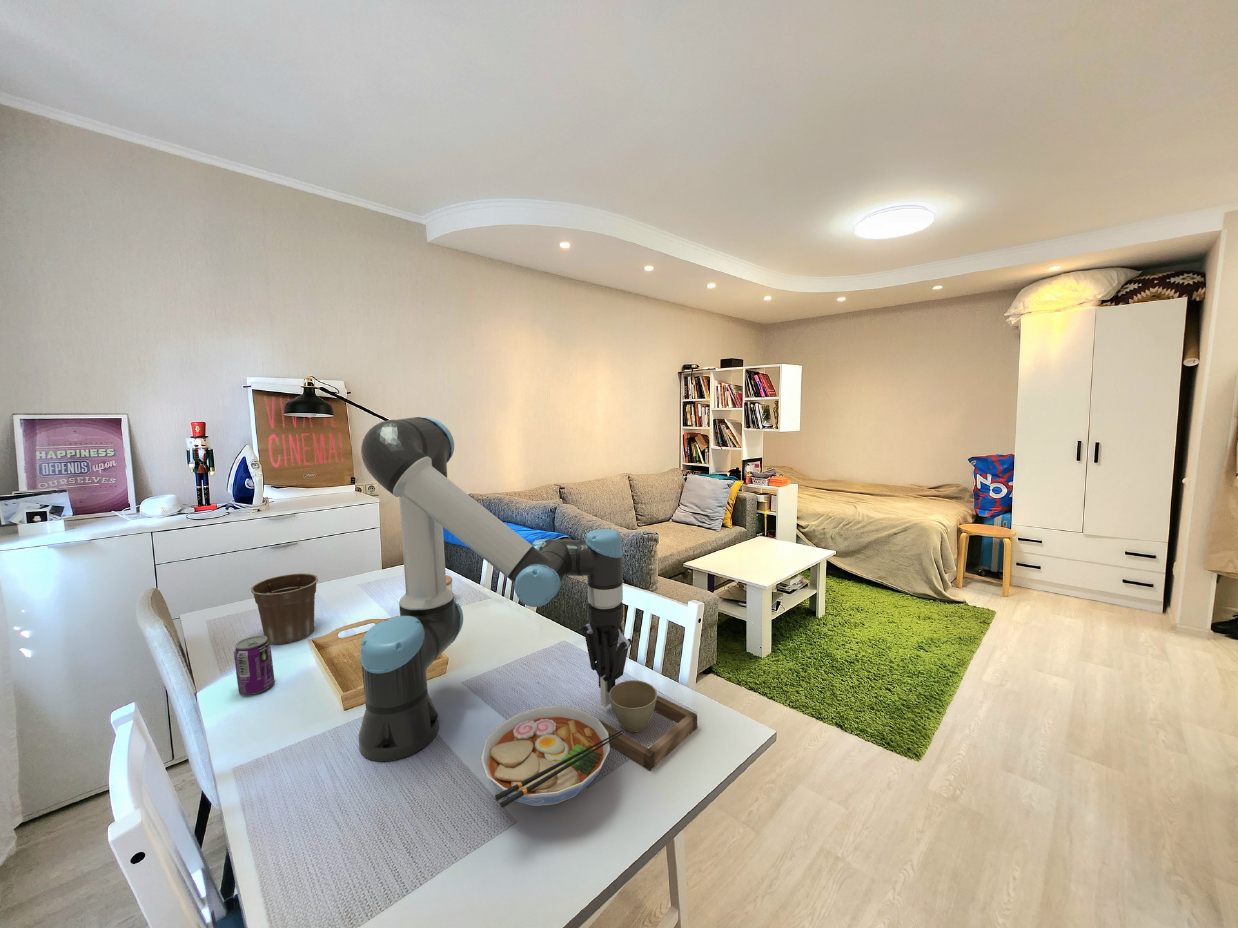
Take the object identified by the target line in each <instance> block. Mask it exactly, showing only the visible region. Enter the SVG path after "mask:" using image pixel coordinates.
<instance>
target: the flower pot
mask: <svg viewBox="0 0 1238 928" xmlns="http://www.w3.org/2000/svg"><path fill="white" fill-rule="evenodd" d="M657 695H658V692H657V690H656V688H655V687H654V686H653V685H652V684H651V683H648V682H646V681H643V680H635V679H634V680H633V679H630V680H629V679H628V680H624V681H621V682H618V683H617V684H616V683H615V686H614V687H613V688H612V689H611V690H610V693H609V697H610V702H611V704H610V706H611V709H612V712H613V714H614V717H615V718H616V720H617V722H618V723H619V725H620V726H621V727H622V729H624V731H627V732H629V733H638V732H641V731H643V730H644V729H645V728H646V727H647V725H648V724H649V722H650V720H651V718H652V716H653V714H654V712H655V711H654V708H655V705H656V700H657Z"/></svg>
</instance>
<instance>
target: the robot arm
mask: <svg viewBox="0 0 1238 928" xmlns="http://www.w3.org/2000/svg"><path fill="white" fill-rule="evenodd" d="M360 447H361V448H360V449H361V450H360V454H361V460H362V461H363V464H364V466H365V469H366V470H367V472H368V473H369V474H370V475H371V476H372V478H373V479H374V480H375V481H376V482H377V483H378V484H379V485H381V486H382V487H383V489H385V490H386V491H387V492H389V493H390V494H391V495H392V496H393V497H395V498H399V511H400V525H401V526H400V527H401V540H402V541H401V542H402V556H403V570H404V573H403V574H404V583H405V587H404V588H405V593H404V594H403V596H401V598H400V599H399V602H398V605H399V616H398V615H397V616H393V617H389V618H387V620H382V621H379V622H378V623H376V624H374V625H373V626H372V627H370V628H369V629H368V630H367V631H366V633H364V634H363V637H362V639H361V642H360V656H359V661H360V665H361V671H362V681H363V692H364V693H363V694H364V701H365V702H364V703H365V711H364V713H363V714H364V715H363V718H362V722H361V726H360V728H359V732H358V746H359V748H358V749H359V752H360V754H361V755H362V756H363V757H365V758H367V759H368V760H370V761H371V760H372V761H375V762H376V761H377V762H390V761H397V760H400V759H403V758H406V757H410V756H412V755H414V754H416V753H418V752H419V751H422V749H425V748H426V747H427V746H428V745H430V744H431V742H433V740H435V738H436V736H437V735H438V732H439V731H440V730H439V729H440V721H439V720H440V718H439V714H438V711H437V709H436V707H435V705H434V702H433V701H432V699H431V696H430V694H429V692H428V678H427V677H428V676H427V671H428V670H427V669H429V667H430V666H431V665H432V664H433V663H434V662H435V661H436V660H437V658H439V657H440V656H441V655H442V653H443V652H445V651H446V650H447V649H448V647H450V646H451V645H452V644H453V643H454V642H455V640H456V639H457V637H458V636H459V634H460V632H461V630H462V628H463V624H464V613H463V609H462V606H461V605H460V603H457V600H456V599H455V596H454V592H453V590H452V591H451V590H449V589H448V588H447V587H446V575H447V574H446V572H447V571H446V558H445V541H444V540H445V539H444V529H445V530H447V531H448V533H450V534H452V535H453V536H454V537H455V538H456V539H458V540H460V542H462V543H463V544H464V545H466V547H468V548H470V549H471V550H472V551H473V552H475V553H476V554H477V555H478V556H480V557H481V558H482V559H484V560H485V561H486V562H487V563H489V564H490V565H491V566H492V567H494V568H495V569H496V570H497V571H498V572H500V573H501V574H502V575H503V576H505V577H507V579H509V580H510V581H511V582H512V583H513V584H514V585H513V586H514V587H513V588H514V593H515V595H516V598H517V599H518V600H519V601H520V602H521V603H522V604H524V605H526V606H527V607H531V608H540V607H543V606H545V605H546V604H548V603H549V602H550V601H551V600H552V599H553V598H554V597H555V596H556V595H557V594H558V592H559V590H560V588H561V586H562V585H563V583H564V581H565V580H566V579H567V577H568V576H569V577H583V576H584V577H585V576H586V578H587V602H588V604H587V611H588V612H587V614H588V615H587V617H588V618H587V619H588V620H589V623H587V624H585V625H583V626H581V631H582V633H583V635H584V638H585V643H586V647H587V653H588V659H589V663H590V668H591V670H592V671H595V672H596V673H597V676H598V687H599V688H600V706H602V707H604V708H607V707H608V706H611V702H610V697H609V693H610V690H611V689H612V688H613V687H614V686H615V685H616V680H618V679H619V678H621V677H622V676H623V675H624V672H625V667H626V661H627V656H628V651H629V648H630V647H631V645H632V643H633V641H632V638H626V637H625V635H624V634H623V633H624V630H623V627H622V622H623V619H624V603H623V601H624V599H623V597H624V595H623V592H624V590H623V589H624V588H623V585H624V584H623V583H624V581H623V573H624V571H623V564H624V562H623V561H624V560H623V559H624V557H623V555H624V551H623V543H622V536H621V534H620V533H619V532H618V531H616V530H614V529H607V528H602V529H593V530H591V531H589V532H588V533H587V534H586V538H585V539H583V540H582V539H581V540H580V539H578V540H577V539H559V538H558V539H557V538H556V539H554V538H547V539H546V538H544V539H543V538H542V539H536V540H534V541H533V542H532V544H531V543H530V542H529V541H527V540H526V539H525V538H523V536H522V535H520V534H518V533H517V532H516V531H514V530H513V529H512V528H510V526H508V525H507V524H506V523H504V522H503V521H502V520H500V519H499V518H498V517H497V516H496V515H495V514H493V513H491V511H489V510H488V509H487V508H486V507H485V506H483V505H482V504H480V503H479V502H478V501H476V499H474V498H473V497H472V496H470V495H469V494H468V493H467V492H466V491H464V490H463V489H462V488H460V487H459V486H458V485H456V484H455V483H454V482H453V481H451V479H449V478H448V466H447V464H448V462H449V461H451V459H452V457H453V455H454V451H455V441H454V437H453V435H452V433H451V431H450V430H449V429H448V427H447V426H446V425H445V424H444V423H442V422H441V421H439V420H438V419H435V418H432V417H423V416H422V417H421V416H415V417H408V418H398V419H389V420H384V421H381V422H378V423H376V424H375V425H373V426H372V427H371V428H370V429H368V431H367V432H366V434H365V435H364V437H363V438H362V443H361V446H360Z"/></svg>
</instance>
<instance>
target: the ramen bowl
mask: <svg viewBox="0 0 1238 928" xmlns="http://www.w3.org/2000/svg"><path fill="white" fill-rule="evenodd" d="M599 720H600V719H599V718H597V717H595V716H594V715H592V714H590V713H588V712H586V711H585V710H582V709H579V708H575V707H574V708H573V707H571V706H570V707H568V706H565V705H564V706H563V705H555V706H553V705H552V706H551V705H550V706H539V707H536V708H532V709H529V710H525V711H522V712H518V713H516V714H514V715H513V716H511V717H510V718H508V719H506V720H505V721H503V722H502V723H500V724H499V725H497V727H495V729H493V731H492V732H491V734H489V736H488V737H487V738H486V739H485V741H484V744H483V748H482V752H481V755H480V761H481V764H482V766H483V769H484V772H485V775H486V777H487V779H488V780H489V781H490V783H491V784H492V785H494V786H495V787H496V788H497V789H498V790H500V791H501V792H499V793H497V794H495V795H494V799H495V801H496V802H498V801H500V800H502V799H503V798H505V797H507V798H506V799H504V800H502V801H500V802H499V806H500V808H501V809H504V808H505V807H507V806H508V805H510V804H512V803H513V802H514V803H515V802H517V803H521V804H523V805H529V806H533V807H538V806H549V805H550V806H551V805H553V806H554V805H556V804H559V803H561V802H564V801H567V800H569V799H572V798H574V797H576V796H577V795H578V794H579V793H580V792H582V791H583V790H584V789H585V788H586V787H588V786H589V785H590V784H591V782H593V781H594V780H595V778H597V776H598V775H599V773H600V772H601V769H602V767H603V765H604V763H605V761H606V759H607V756H608V754H609V753H610V751H611V747H610V744H609V742H610V741H612V740H613V739H615V738H617V737H618V736H620V735H622V734H625V733H624V731H623V730H619V731H620V732H621V734H619V735H617V734H618V733H620V732H618V733H616V734H614V735H612V736H610V737H609V735H608V732H607V730H606V729H605V727H604V726H603V725H602V723H601V722H600V721H599ZM615 735H617V736H616V737H614V738H612V739H610V738H611V737H613V736H615ZM609 739H610V740H609Z"/></svg>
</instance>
